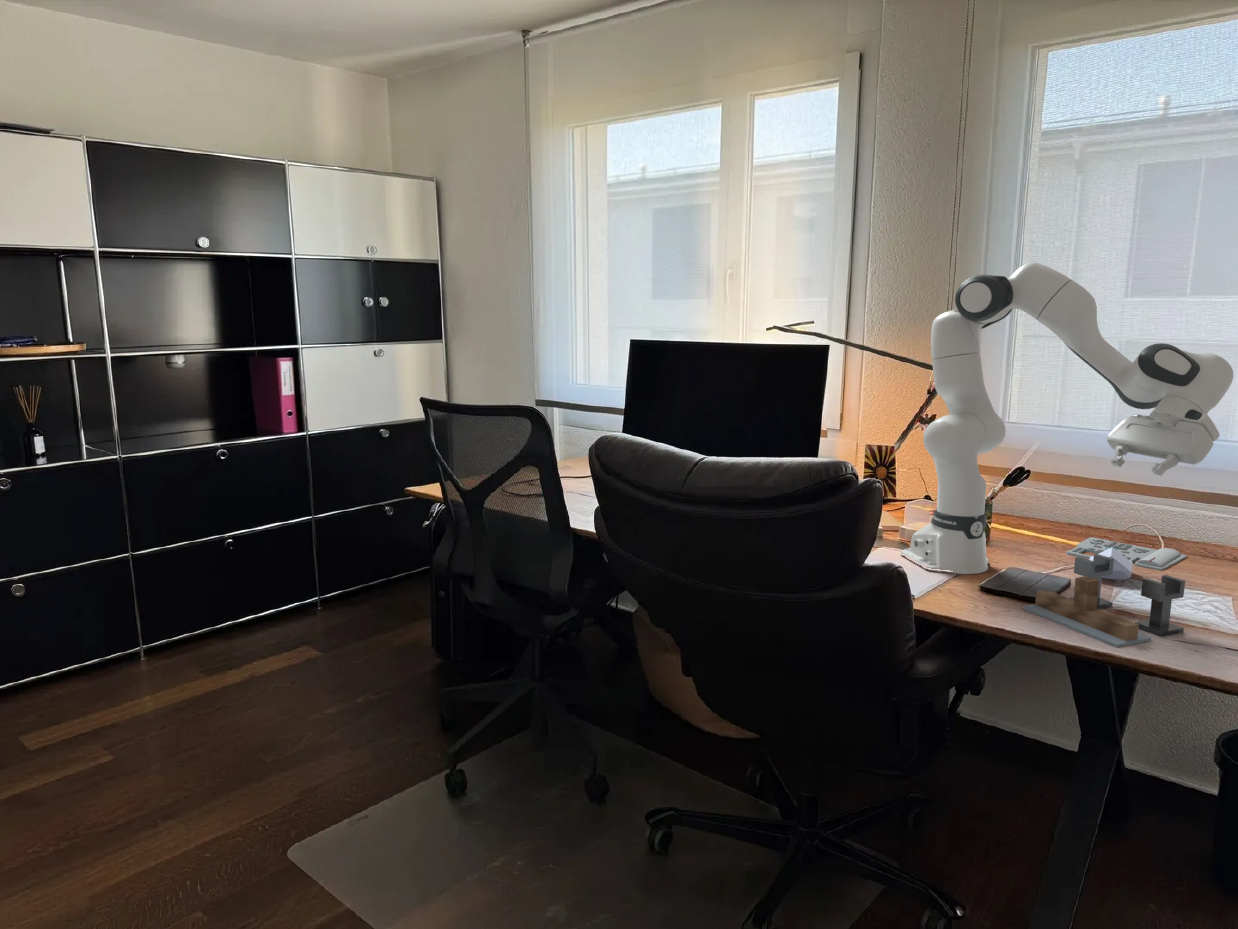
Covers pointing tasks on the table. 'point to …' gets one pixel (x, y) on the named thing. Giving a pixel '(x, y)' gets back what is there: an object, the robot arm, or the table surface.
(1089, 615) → the walnut rail
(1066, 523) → the table surface
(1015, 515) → the table surface
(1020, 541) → the table surface
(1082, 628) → the slate mat
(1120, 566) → the white wedge
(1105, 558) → the hook posts
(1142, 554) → the office telephone
